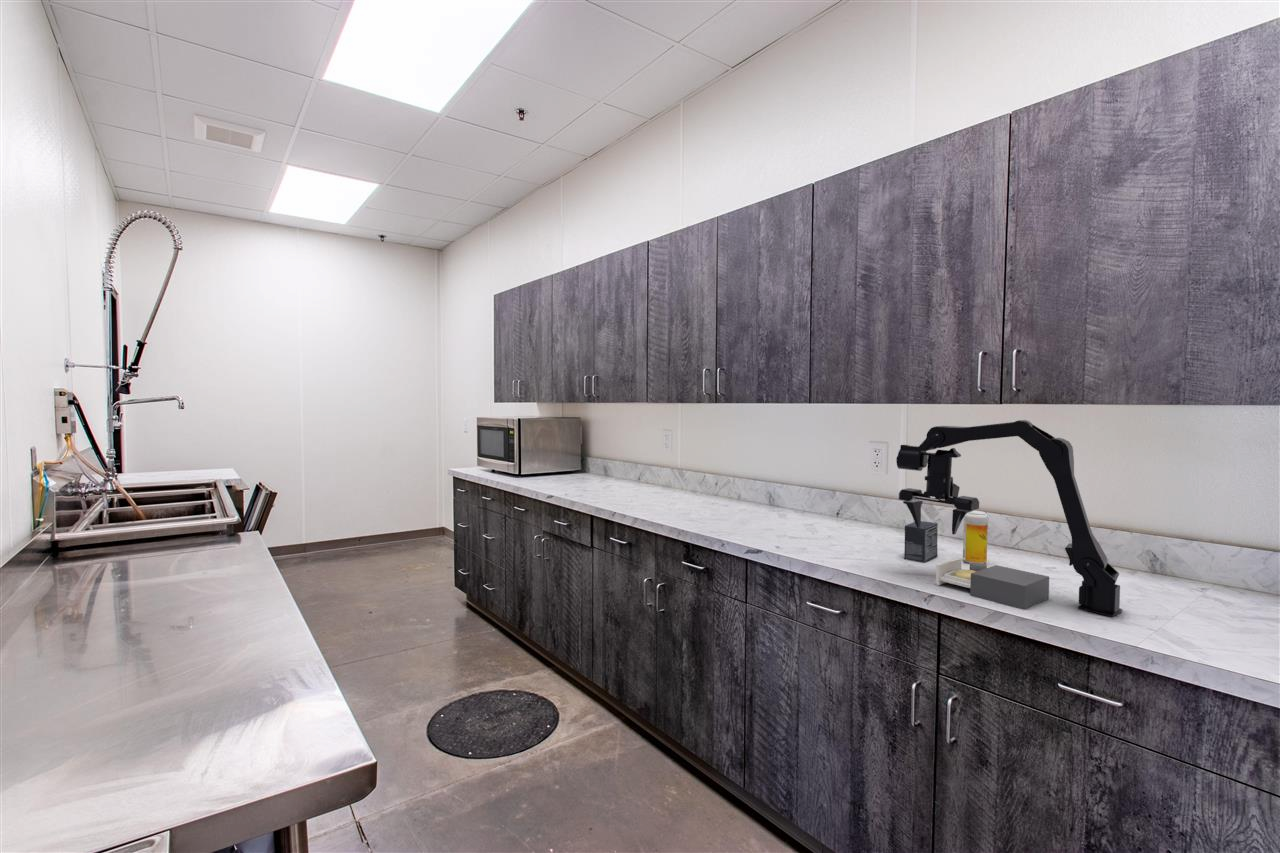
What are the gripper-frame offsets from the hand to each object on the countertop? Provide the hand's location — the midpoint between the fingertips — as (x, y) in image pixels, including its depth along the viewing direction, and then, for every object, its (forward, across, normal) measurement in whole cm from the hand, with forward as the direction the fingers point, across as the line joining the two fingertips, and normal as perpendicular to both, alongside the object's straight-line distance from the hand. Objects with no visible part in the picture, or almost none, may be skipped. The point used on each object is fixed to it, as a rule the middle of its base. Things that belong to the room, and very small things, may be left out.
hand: (935, 530), depth 156 cm
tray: (+13, -9, +1) cm, 16 cm away
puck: (+13, -8, -10) cm, 18 cm away
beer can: (+13, -1, -25) cm, 28 cm away
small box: (+14, +12, -18) cm, 26 cm away
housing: (+12, -19, +2) cm, 22 cm away
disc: (+11, -9, 0) cm, 14 cm away
